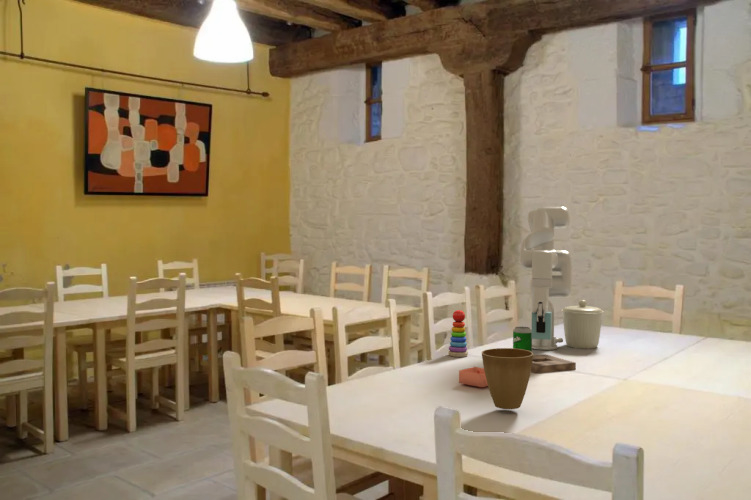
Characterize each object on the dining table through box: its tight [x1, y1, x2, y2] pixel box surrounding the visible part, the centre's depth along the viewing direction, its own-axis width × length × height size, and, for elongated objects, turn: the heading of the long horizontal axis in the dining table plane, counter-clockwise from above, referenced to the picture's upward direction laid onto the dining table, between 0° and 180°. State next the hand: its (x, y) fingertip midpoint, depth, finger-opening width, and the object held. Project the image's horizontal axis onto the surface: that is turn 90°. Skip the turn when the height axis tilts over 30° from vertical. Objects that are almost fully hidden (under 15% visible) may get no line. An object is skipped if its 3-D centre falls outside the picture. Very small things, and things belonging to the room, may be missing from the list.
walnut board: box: [530, 353, 577, 374], centre depth 260 cm, size 18×18×4 cm
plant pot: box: [481, 347, 534, 410], centre depth 201 cm, size 15×15×16 cm
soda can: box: [512, 326, 533, 352], centre depth 279 cm, size 8×8×12 cm
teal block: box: [531, 310, 552, 340], centre depth 259 cm, size 4×7×10 cm, turn 72°
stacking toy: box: [448, 309, 469, 358], centre depth 281 cm, size 8×8×19 cm
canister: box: [560, 299, 605, 350], centre depth 301 cm, size 18×18×21 cm
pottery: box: [458, 366, 488, 388], centre depth 236 cm, size 18×10×10 cm, turn 137°
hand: (541, 331), depth 259 cm, fingers closed on teal block, 3 cm apart
